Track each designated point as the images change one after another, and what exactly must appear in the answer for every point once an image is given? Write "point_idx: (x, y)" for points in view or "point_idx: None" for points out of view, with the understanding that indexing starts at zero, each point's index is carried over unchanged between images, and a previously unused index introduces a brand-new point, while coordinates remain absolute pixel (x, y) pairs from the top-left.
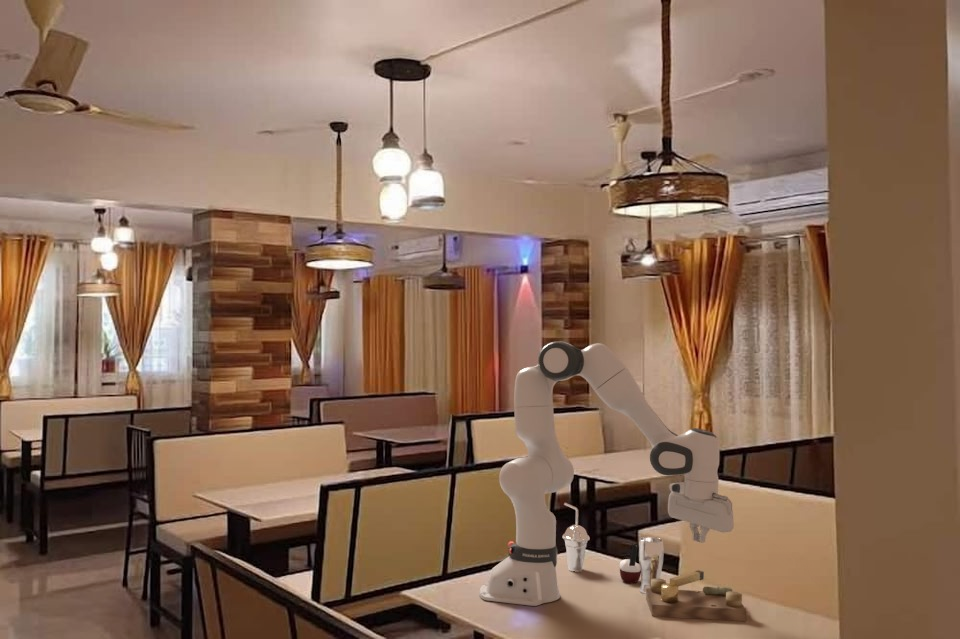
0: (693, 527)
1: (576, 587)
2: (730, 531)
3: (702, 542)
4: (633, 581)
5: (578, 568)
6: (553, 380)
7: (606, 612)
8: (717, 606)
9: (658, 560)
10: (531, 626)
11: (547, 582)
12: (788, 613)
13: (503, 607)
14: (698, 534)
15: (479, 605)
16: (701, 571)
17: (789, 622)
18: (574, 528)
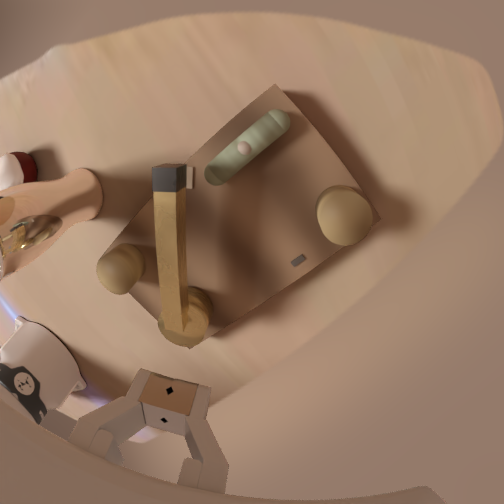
0: (122, 456)
1: (30, 284)
2: (423, 489)
3: (209, 398)
4: (35, 180)
5: None
6: None
7: (139, 360)
8: (308, 256)
9: (45, 234)
10: (145, 430)
11: (61, 385)
12: (418, 68)
13: (81, 399)
14: (157, 418)
15: (71, 403)
16: (168, 172)
17: (447, 138)
18: None
